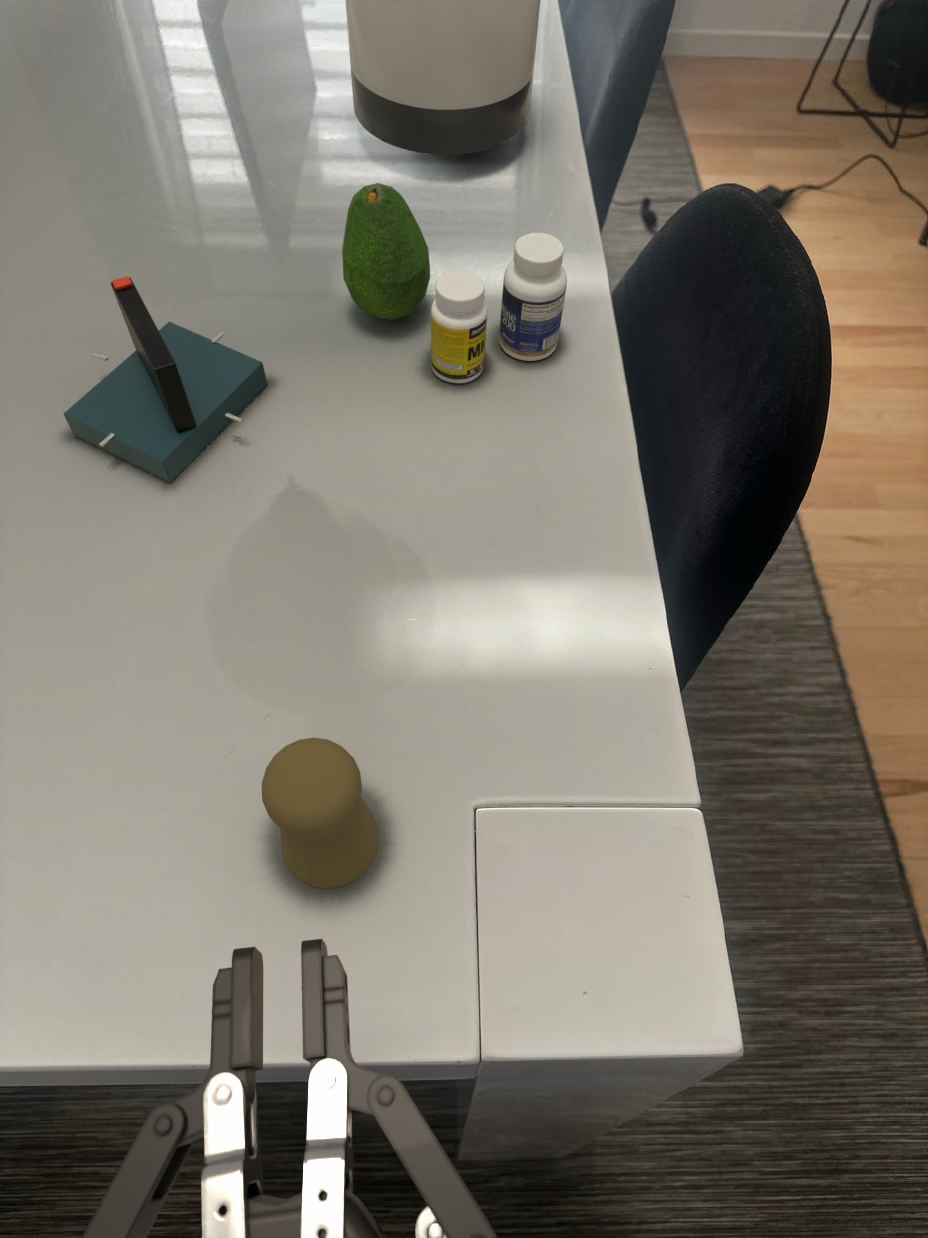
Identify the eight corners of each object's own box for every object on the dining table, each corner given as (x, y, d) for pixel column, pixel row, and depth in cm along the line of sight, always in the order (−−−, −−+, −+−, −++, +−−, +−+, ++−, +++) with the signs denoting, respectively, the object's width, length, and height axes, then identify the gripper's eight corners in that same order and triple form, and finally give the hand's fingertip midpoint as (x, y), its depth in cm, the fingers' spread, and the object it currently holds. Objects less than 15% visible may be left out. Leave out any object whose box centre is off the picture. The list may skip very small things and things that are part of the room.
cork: (325, 774, 54) (302, 700, 44) (398, 828, 52) (391, 763, 43) (260, 850, 51) (222, 787, 42) (336, 909, 49) (314, 858, 40)
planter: (537, 100, 98) (556, -87, 83) (514, 193, 88) (530, 0, 73) (377, 80, 99) (367, -107, 84) (336, 170, 89) (317, -25, 74)
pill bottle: (494, 324, 77) (502, 227, 69) (551, 322, 78) (565, 225, 69) (502, 364, 74) (511, 268, 66) (561, 361, 75) (577, 266, 67)
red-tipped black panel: (197, 427, 66) (174, 360, 60) (177, 433, 65) (153, 367, 60) (153, 342, 71) (129, 273, 65) (135, 348, 70) (108, 279, 65)
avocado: (340, 291, 79) (326, 166, 69) (420, 280, 80) (418, 156, 70) (355, 347, 75) (343, 223, 65) (440, 334, 76) (441, 211, 66)
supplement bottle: (473, 391, 73) (477, 310, 65) (422, 376, 73) (421, 295, 66) (491, 356, 75) (497, 274, 68) (442, 342, 76) (443, 260, 69)
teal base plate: (187, 505, 65) (178, 483, 63) (40, 432, 69) (27, 408, 66) (300, 387, 72) (295, 363, 70) (161, 326, 76) (153, 302, 73)
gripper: (580, 1720, 18) (477, 899, 27) (-88, 1859, 17) (37, 951, 26) (541, 1564, 24) (469, 943, 33) (56, 1657, 23) (116, 987, 32)
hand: (280, 949), depth 29 cm, fingers closed
